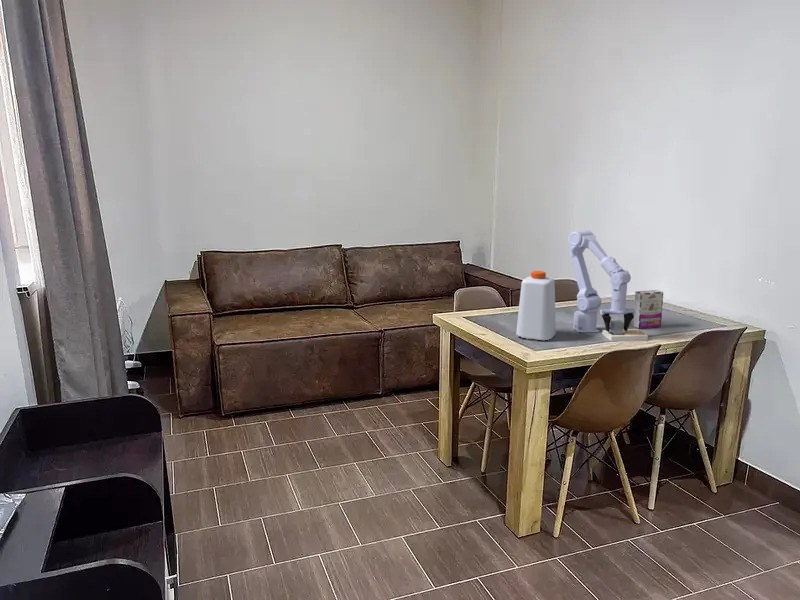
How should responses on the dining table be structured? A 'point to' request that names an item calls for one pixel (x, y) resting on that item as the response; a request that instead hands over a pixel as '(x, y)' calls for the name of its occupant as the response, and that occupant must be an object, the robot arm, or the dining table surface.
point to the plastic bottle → (537, 307)
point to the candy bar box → (648, 309)
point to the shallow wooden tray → (626, 335)
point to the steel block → (616, 327)
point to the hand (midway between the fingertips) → (616, 330)
